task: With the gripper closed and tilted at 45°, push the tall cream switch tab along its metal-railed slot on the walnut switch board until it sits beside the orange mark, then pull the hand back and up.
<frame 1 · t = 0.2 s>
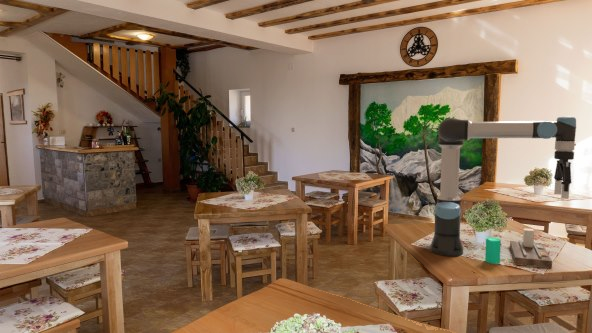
hand: (561, 196, 191), 28 cm above the table, tool pointing down, fingers open, 13 cm apart
switch tab: (528, 237, 197), point 7 cm above the table, slide at 0.0 cm
switch board: (529, 256, 192), on the table
candle: (492, 261, 186), on the table
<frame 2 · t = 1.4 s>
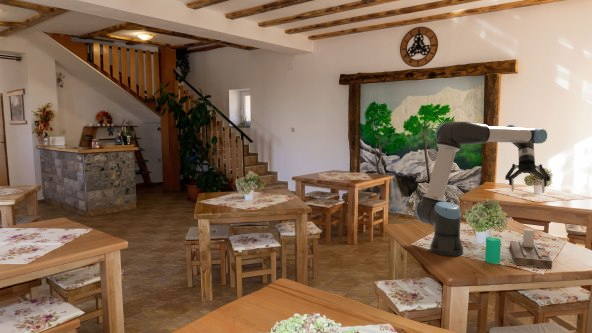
hand: (527, 190, 208), 28 cm above the table, tool tilted 45°, fingers open, 13 cm apart
nothing on the table moved.
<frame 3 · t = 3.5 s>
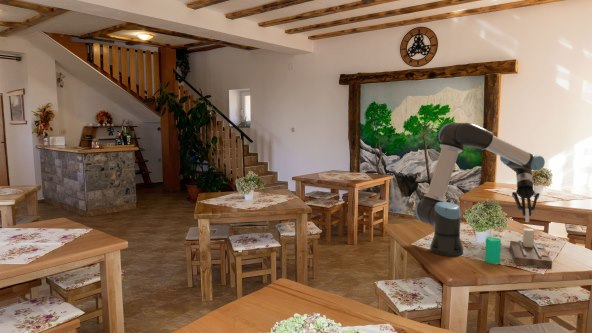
hand: (527, 220, 208), 13 cm above the table, tool tilted 45°, fingers closed
nothing on the table moved.
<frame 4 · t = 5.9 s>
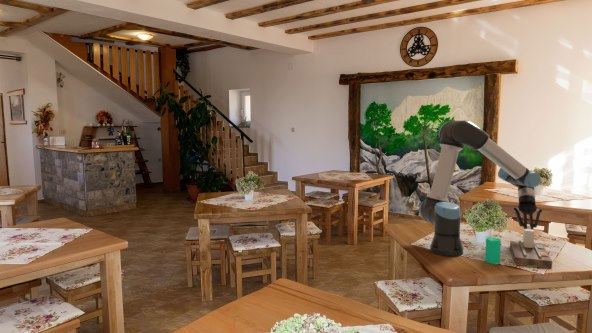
hand: (529, 238, 199), 6 cm above the table, tool tilted 45°, fingers closed
switch tab: (528, 238, 196), point 7 cm above the table, slide at 1.1 cm, touching gripper
everything else where it was.
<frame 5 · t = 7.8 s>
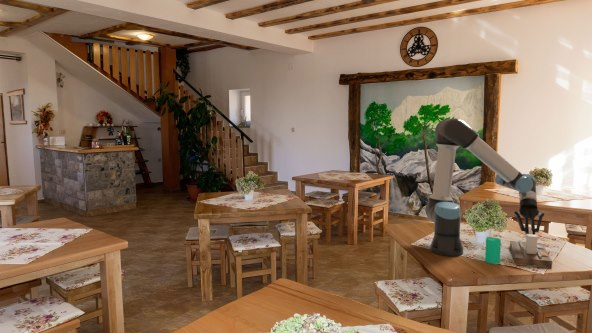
hand: (531, 243, 190), 6 cm above the table, tool tilted 45°, fingers closed
switch tab: (531, 244, 187), point 7 cm above the table, slide at 11.1 cm, touching gripper
everything else where it was.
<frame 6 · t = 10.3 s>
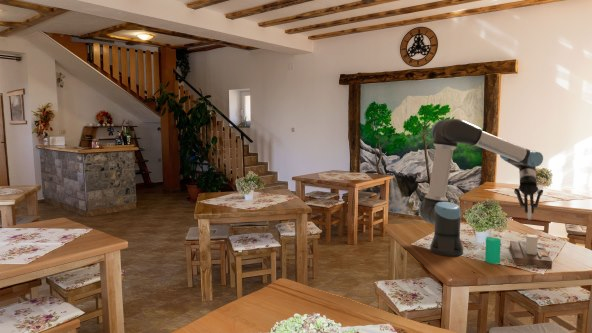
hand: (529, 218, 199), 16 cm above the table, tool tilted 45°, fingers closed
switch tab: (531, 244, 186), point 7 cm above the table, slide at 12.0 cm
everything else where it was.
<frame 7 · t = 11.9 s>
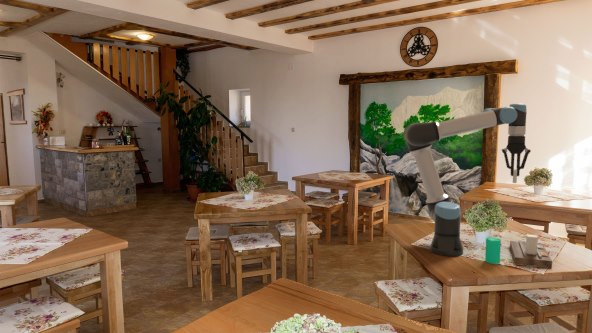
hand: (514, 182, 206), 32 cm above the table, tool pointing down, fingers closed
nothing on the table moved.
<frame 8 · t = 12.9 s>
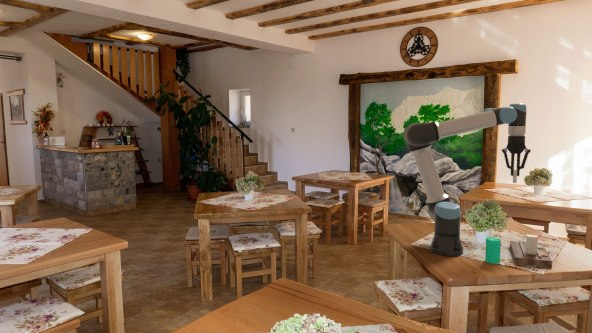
hand: (514, 182, 206), 32 cm above the table, tool pointing down, fingers closed
nothing on the table moved.
at the end: switch tab slide at 12.0 cm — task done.
